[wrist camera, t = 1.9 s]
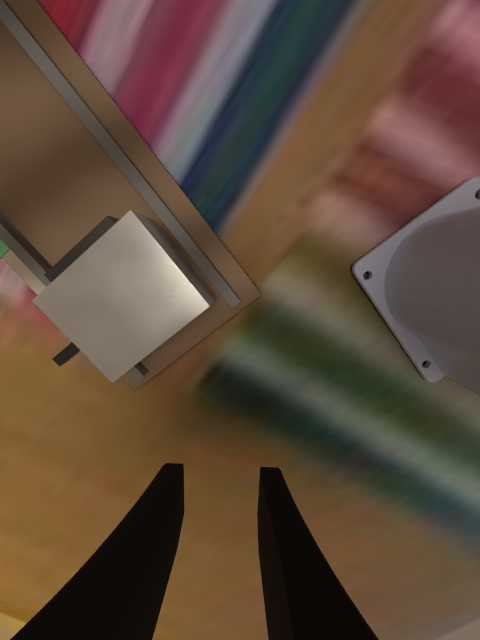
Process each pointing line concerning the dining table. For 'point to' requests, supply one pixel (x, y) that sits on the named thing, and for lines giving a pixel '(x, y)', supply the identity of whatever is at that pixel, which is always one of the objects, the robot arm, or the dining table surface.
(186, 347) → the base
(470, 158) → the dining table surface
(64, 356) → the block
